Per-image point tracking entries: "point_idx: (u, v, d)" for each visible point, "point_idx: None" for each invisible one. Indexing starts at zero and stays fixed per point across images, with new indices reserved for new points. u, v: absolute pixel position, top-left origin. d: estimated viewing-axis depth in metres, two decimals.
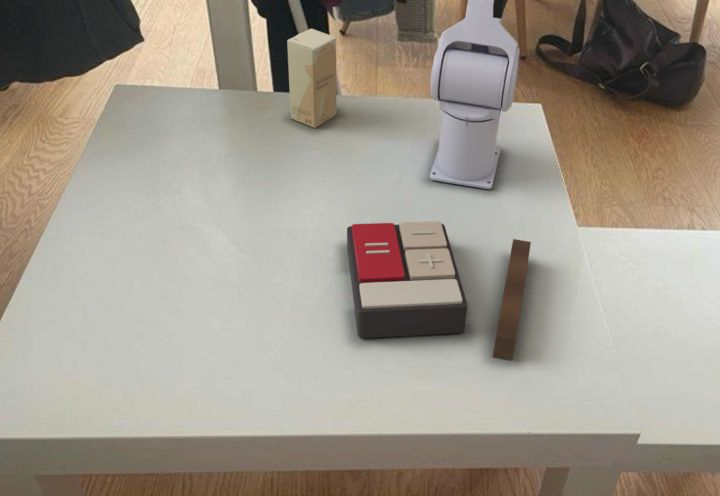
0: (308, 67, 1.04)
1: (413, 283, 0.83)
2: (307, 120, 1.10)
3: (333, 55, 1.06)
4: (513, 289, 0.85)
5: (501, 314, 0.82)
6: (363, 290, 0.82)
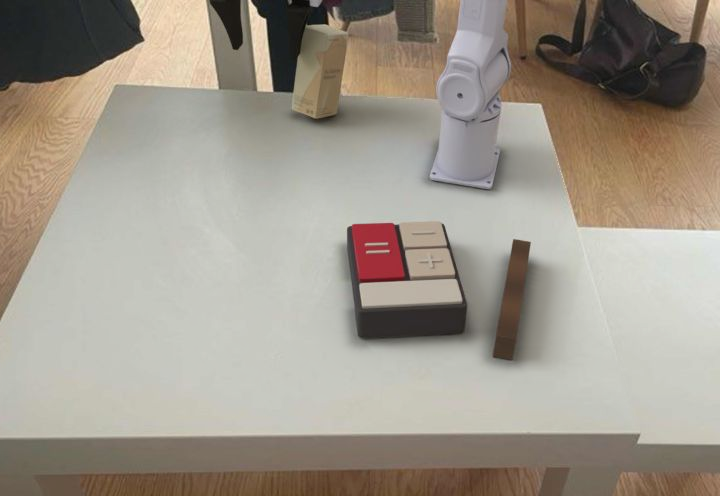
0: (319, 54, 1.05)
1: (413, 283, 0.83)
2: (309, 111, 1.09)
3: (343, 50, 1.08)
4: (513, 289, 0.85)
5: (501, 314, 0.82)
6: (363, 290, 0.82)
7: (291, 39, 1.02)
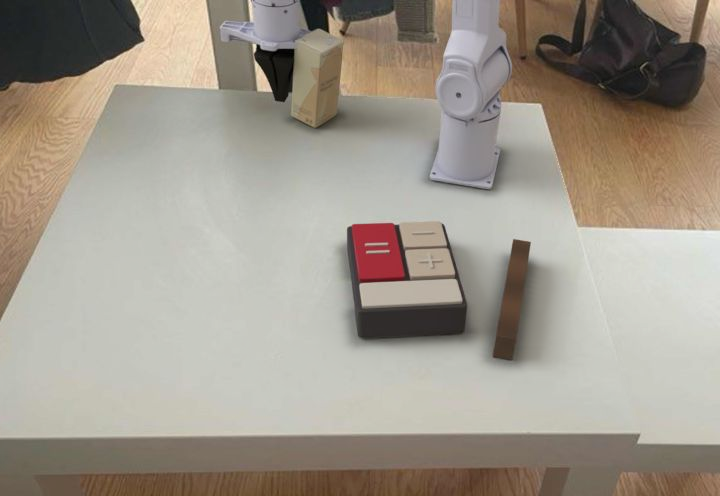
0: (314, 69, 1.04)
1: (413, 283, 0.83)
2: (308, 120, 1.09)
3: (339, 58, 1.06)
4: (513, 289, 0.85)
5: (501, 314, 0.82)
6: (363, 290, 0.82)
7: (279, 83, 1.08)
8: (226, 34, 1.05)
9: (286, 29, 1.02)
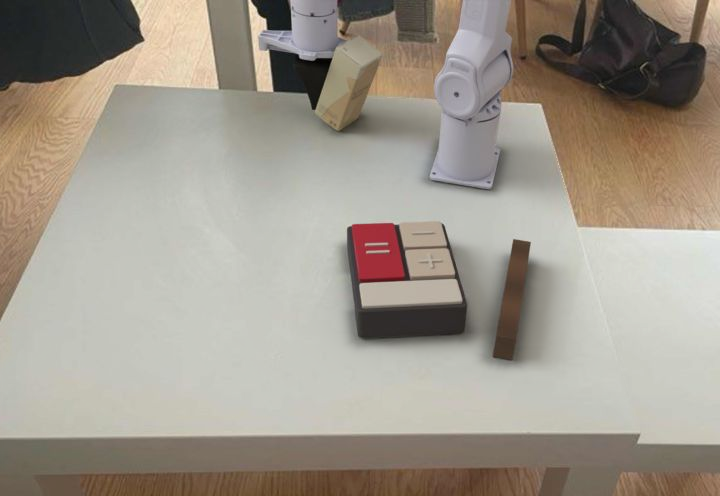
0: (351, 80, 1.03)
1: (413, 283, 0.83)
2: (332, 122, 1.09)
3: (375, 69, 1.06)
4: (513, 289, 0.85)
5: (501, 314, 0.82)
6: (363, 290, 0.82)
7: (314, 92, 1.08)
8: (264, 43, 1.05)
9: (325, 39, 1.02)
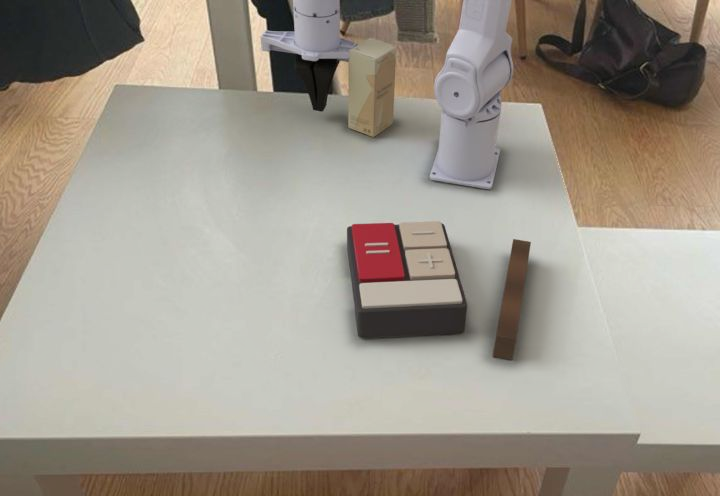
0: (370, 77, 1.04)
1: (413, 283, 0.83)
2: (366, 130, 1.09)
3: (393, 64, 1.06)
4: (513, 289, 0.85)
5: (501, 314, 0.82)
6: (363, 290, 0.82)
7: (318, 93, 1.08)
8: (266, 44, 1.05)
9: (327, 39, 1.02)
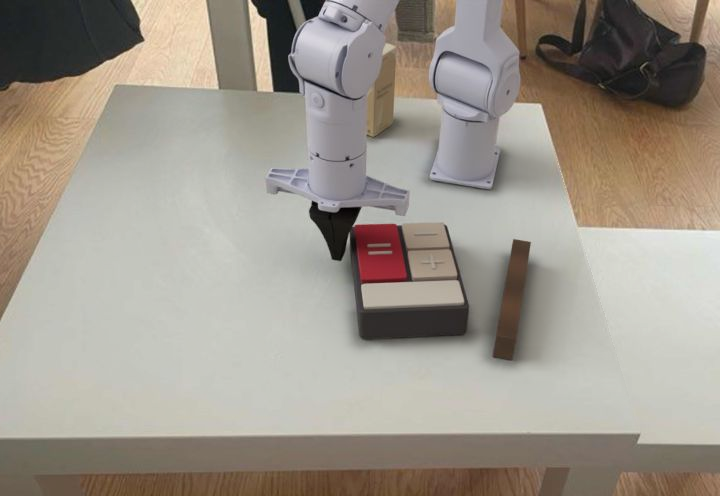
0: None
1: (415, 284, 0.83)
2: None
3: (393, 64, 1.06)
4: (513, 289, 0.85)
5: (501, 314, 0.82)
6: (365, 290, 0.82)
7: (336, 242, 0.86)
8: (273, 186, 0.83)
9: (350, 185, 0.80)
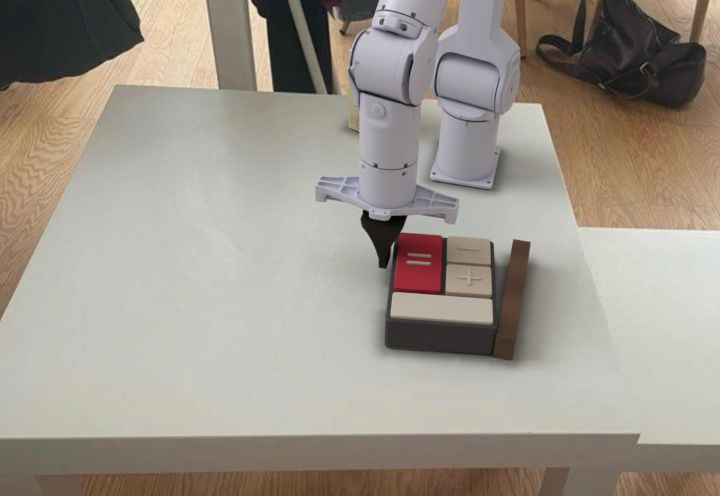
0: None
1: (447, 298, 0.82)
2: None
3: None
4: (513, 289, 0.85)
5: (501, 314, 0.82)
6: (395, 299, 0.81)
7: (382, 250, 0.86)
8: (322, 194, 0.83)
9: (402, 194, 0.80)
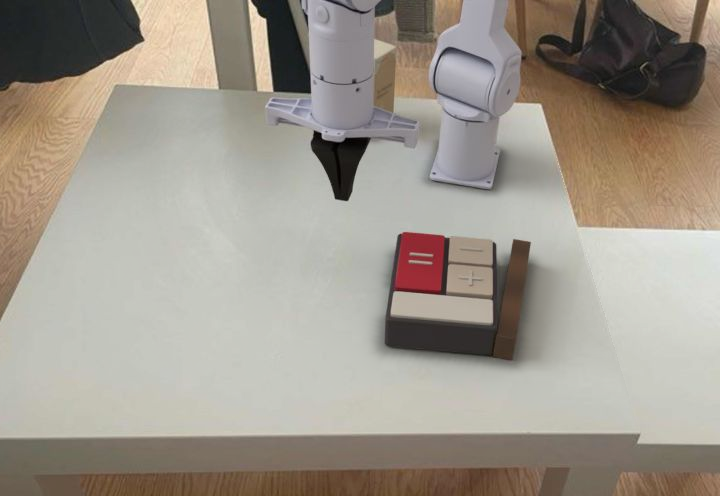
0: None
1: (447, 298, 0.82)
2: None
3: (393, 64, 1.06)
4: (513, 289, 0.85)
5: (501, 314, 0.82)
6: (395, 298, 0.81)
7: (343, 179, 0.80)
8: (273, 116, 0.77)
9: (357, 113, 0.74)
